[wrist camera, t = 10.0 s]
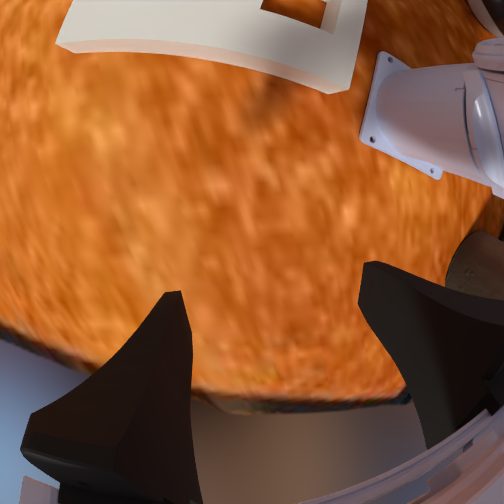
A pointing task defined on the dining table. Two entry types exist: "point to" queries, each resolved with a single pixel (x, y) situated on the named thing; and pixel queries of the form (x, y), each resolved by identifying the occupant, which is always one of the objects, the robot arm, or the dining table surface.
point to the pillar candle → (478, 267)
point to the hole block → (224, 35)
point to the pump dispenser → (489, 15)
